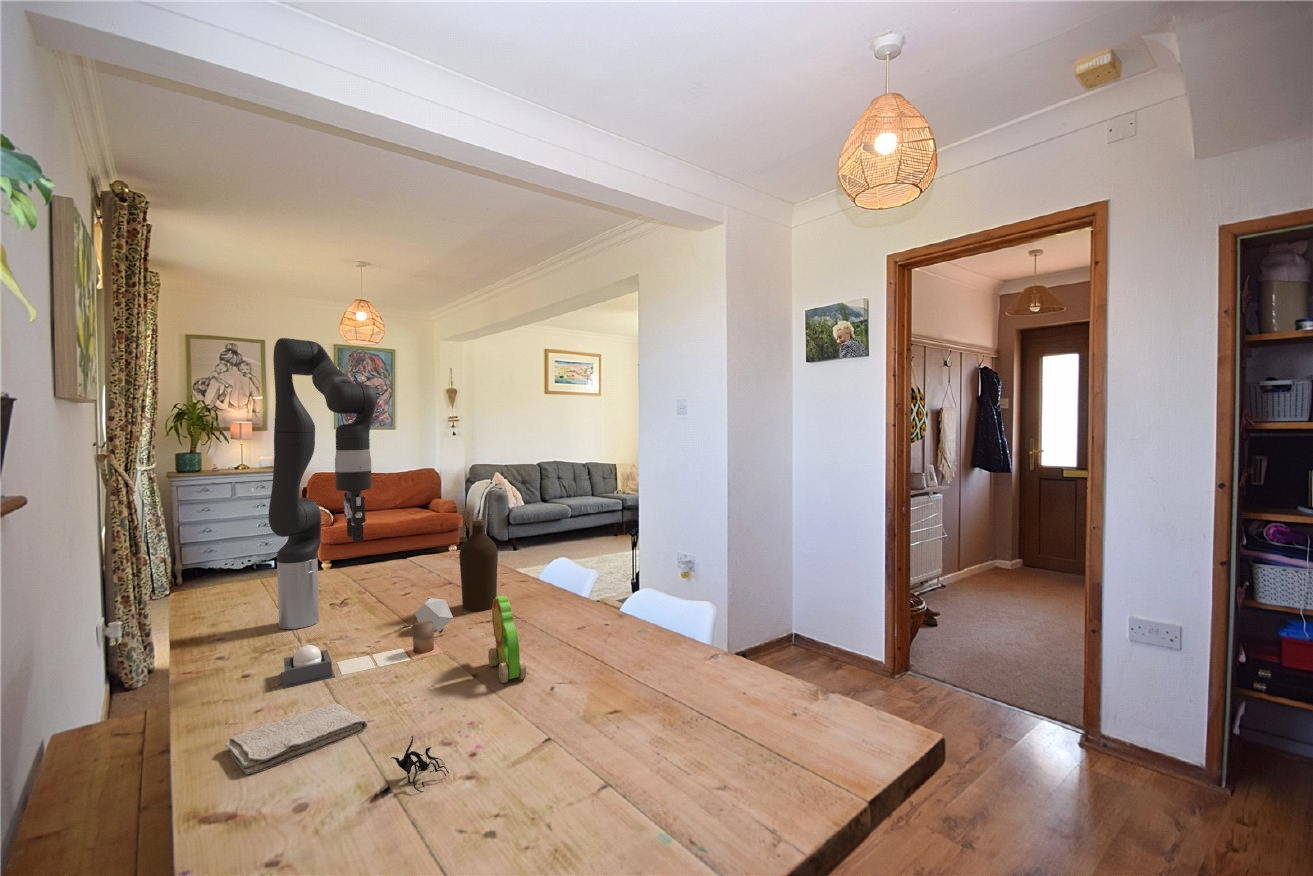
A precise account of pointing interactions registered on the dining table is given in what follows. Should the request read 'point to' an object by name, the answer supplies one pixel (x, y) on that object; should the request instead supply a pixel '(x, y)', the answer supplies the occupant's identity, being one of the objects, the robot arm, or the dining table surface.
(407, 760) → the creature
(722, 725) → the dining table surface
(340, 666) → the game board
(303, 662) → the dome
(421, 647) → the brown cylinder
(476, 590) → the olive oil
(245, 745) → the washcloth
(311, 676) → the button base
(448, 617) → the die
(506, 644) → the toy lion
